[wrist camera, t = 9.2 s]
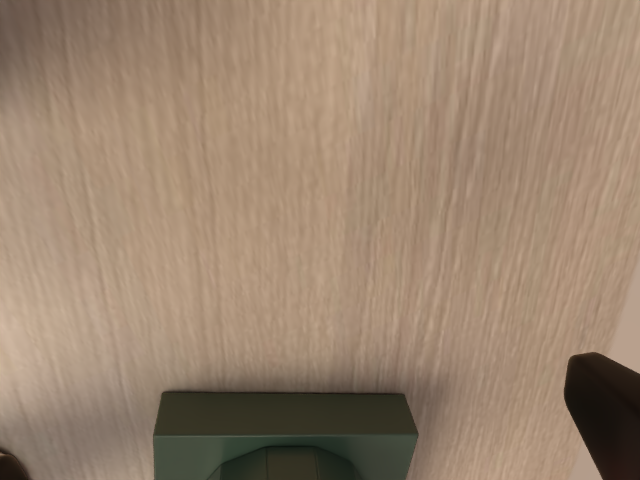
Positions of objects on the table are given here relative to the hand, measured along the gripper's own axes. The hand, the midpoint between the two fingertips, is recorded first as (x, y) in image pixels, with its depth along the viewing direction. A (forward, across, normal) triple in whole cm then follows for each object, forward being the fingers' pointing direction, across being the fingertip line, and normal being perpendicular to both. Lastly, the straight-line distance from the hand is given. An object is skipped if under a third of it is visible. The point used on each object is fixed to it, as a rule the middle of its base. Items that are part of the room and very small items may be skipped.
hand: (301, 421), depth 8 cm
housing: (+10, +2, +13) cm, 16 cm away
